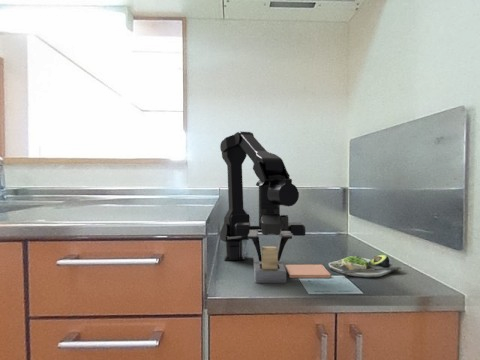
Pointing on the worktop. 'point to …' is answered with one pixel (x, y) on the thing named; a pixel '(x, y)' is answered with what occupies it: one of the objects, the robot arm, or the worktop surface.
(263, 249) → the maple peg
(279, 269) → the grey slotted holder
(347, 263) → the salad plate
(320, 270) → the terracotta tile
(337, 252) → the worktop surface
